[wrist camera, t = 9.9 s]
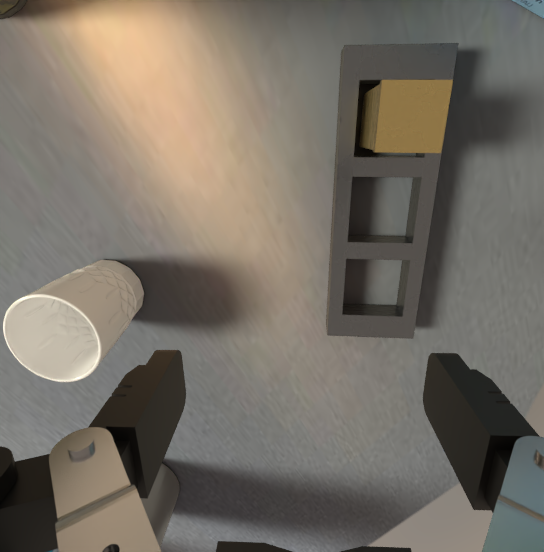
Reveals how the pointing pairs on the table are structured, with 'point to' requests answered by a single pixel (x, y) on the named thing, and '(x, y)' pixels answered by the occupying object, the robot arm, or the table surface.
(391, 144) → the golden rectangular block
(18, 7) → the thermos
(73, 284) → the white cup
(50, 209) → the table surface
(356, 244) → the grey compartment tray
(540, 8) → the gum box
